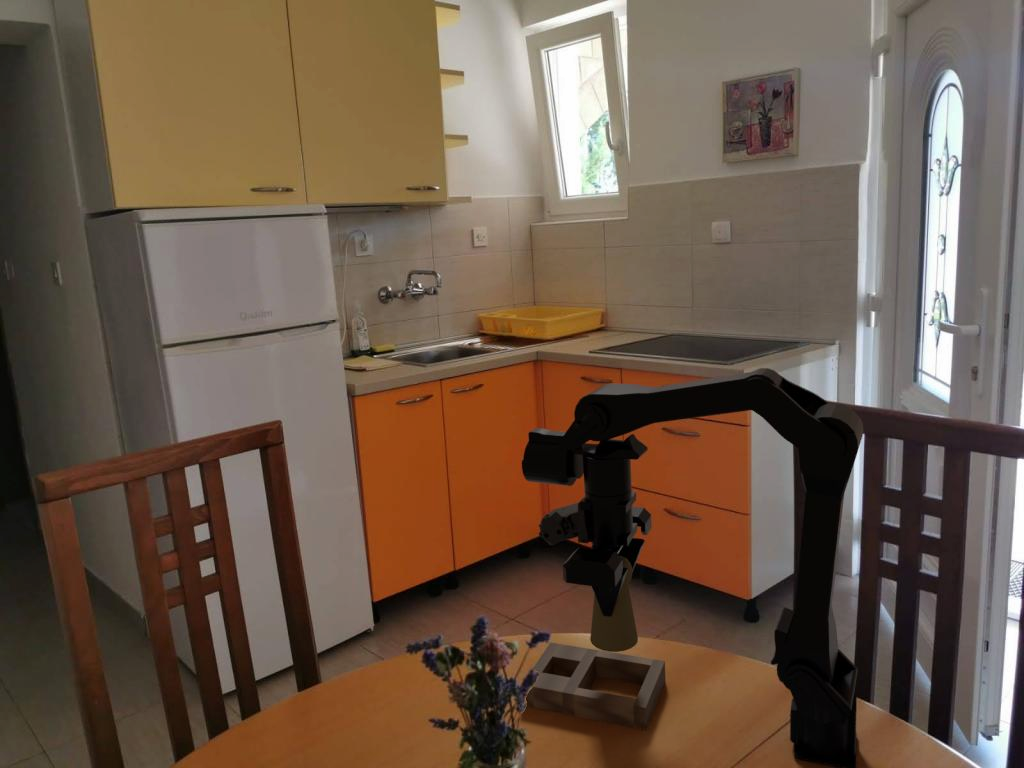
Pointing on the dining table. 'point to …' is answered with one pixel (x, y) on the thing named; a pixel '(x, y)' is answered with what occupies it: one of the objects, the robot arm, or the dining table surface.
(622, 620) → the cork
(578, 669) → the hole block
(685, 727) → the dining table surface
